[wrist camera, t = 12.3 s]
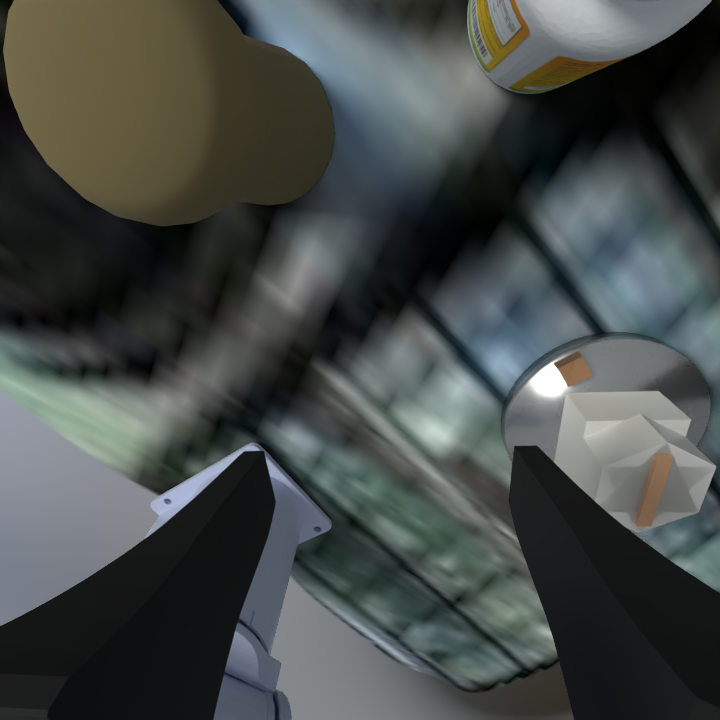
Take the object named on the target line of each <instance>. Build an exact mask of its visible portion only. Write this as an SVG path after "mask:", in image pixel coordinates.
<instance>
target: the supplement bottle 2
mask: <svg viewBox="0 0 720 720" xmlns="http://www.w3.org/2000/svg"><path fill="white" fill-rule="evenodd" d="M711 1H712V0H469V4H468V20H467V22H468V35H469V40H470V44H471V48H472V51H473V53H474V56H475V58H476V60H477V62H478V64H479V66H480V67H481V69H482V70H483V71H484V73H485V74H486V75H487V76H488V77H489V78H490V79H491V80H492V81H493V82H495V83H496V84H497V85H499V86H501V87H503V88H505V89H507V90H510V91H513V92H517V93H524V94H533V93H541V92H546V91H549V90H553V89H555V88H558V87H561V86H563V85H565V84H568V83H570V82H572V81H574V80H576V79H579V78H581V77H583V76H585V75H588V74H590V73H592V72H595V71H597V70H599V69H602V68H605V67H607V66H609V65H611V64H614V63H616V62H618V61H621V60H623V59H625V58H628V57H630V56H632V55H635V54H637V53H639V52H641V51H643V50H645V49H648V48H650V47H651V46H653V45H655V44H657V43H659V42H660V41H662V40H664V39H666V38H668V37H669V36H671V35H672V34H674V33H675V32H676V31H678V30H679V29H680V28H682V27H683V26H684V25H686V24H687V23H689V22H690V21H691V20H692V19H693V18H694V17H695V16H696V15H698V14H699V13H700V12H701V11H702V10H703V9H704V8H705V7H706V6H707V5H708V4H709V3H710V2H711Z"/></svg>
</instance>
